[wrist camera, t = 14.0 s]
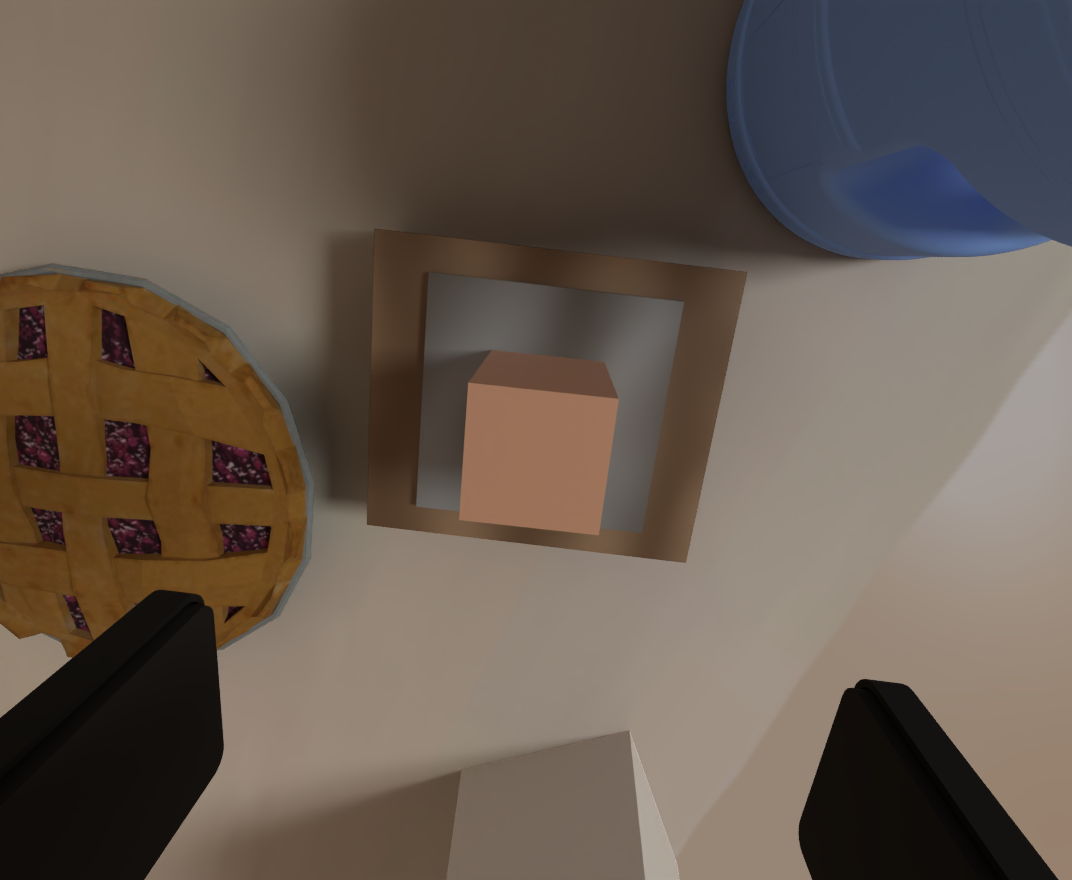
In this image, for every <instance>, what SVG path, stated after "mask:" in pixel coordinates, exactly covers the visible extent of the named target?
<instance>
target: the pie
mask: <svg viewBox="0 0 1072 880" xmlns="http://www.w3.org/2000/svg"><path fill="white" fill-rule="evenodd" d="M313 496H314V481H313V478H312V475H311V471H310V468H309V465H308V462H307V459H306V456H305V453H304V450H303V447H302V444H301V441H300V437H299V434H298V431H297V428H296V425H295V422H294V419H293V416H292V413H291V410H290V407H289V403H288V401H287V399H286V398H285V397H284V395H283V394H282V393H281V392H280V390H279V389H278V388H277V386H276V385H275V384H274V383H273V381H272V380H271V379H270V377H269V376H268V375H267V374H266V372H265V371H264V370H263V368H262V367H261V366H260V365H259V363H258V362H257V361H256V359H255V358H254V357H253V356H252V354H251V353H250V352H249V350H248V349H247V348H246V347H245V345H244V344H243V343H242V341H241V340H240V339H239V338H238V336H237V335H236V334H235V332H234V331H233V330H232V329H231V327H229V326H228V325H226V324H224V323H222V322H221V321H219V320H217V319H215V318H214V317H212V316H210V315H208V314H207V313H205V312H203V311H201V310H200V309H198V308H196V307H194V306H193V305H191V304H189V303H187V302H186V301H184V300H182V299H180V298H179V297H177V296H175V295H173V294H172V293H170V292H168V291H166V290H165V289H163V288H161V287H159V286H158V285H156V284H154V283H152V282H151V281H149V280H147V279H143V278H137V277H131V276H125V275H119V274H113V273H107V272H101V271H95V270H89V269H83V268H77V267H71V266H64V265H58V264H48V265H43V266H38V267H34V268H29V269H24V270H20V271H15V272H11V273H6V274H1V275H0V624H2V625H3V626H4V627H5V628H7V629H8V630H9V631H10V632H11V633H13V634H14V635H15V636H16V637H18V638H19V639H21V638H25V637H29V636H33V635H36V634H40V633H43V634H45V635H47V636H49V637H51V638H53V639H55V640H57V641H59V642H61V643H62V645H63V647H64V649H65V651H66V654H67V657H72V658H73V657H74V656H76V655H77V654H78V653H79V652H80V651H82V650H83V649H84V648H85V647H86V646H88V645H89V644H90V643H91V642H93V641H94V640H95V639H96V638H97V637H99V636H100V635H101V634H102V633H103V632H105V631H106V630H107V629H108V628H109V627H111V626H112V625H113V624H114V623H115V622H117V621H118V620H119V619H120V618H121V617H123V616H124V615H125V614H126V613H127V612H129V611H130V610H131V609H132V608H133V607H135V606H136V605H137V604H138V603H140V602H141V601H142V600H143V599H144V598H146V597H147V596H148V595H149V594H151V593H152V592H154V591H156V590H161V589H162V590H170V591H177V592H185V593H193V594H198V595H200V596H201V597H202V598H203V600H204V604H205V605H206V606H210V607H211V608H212V609H213V613H214V621H215V635H216V648H217V650H223V649H225V648H226V647H228V646H230V645H231V644H233V643H235V642H236V641H238V640H240V639H241V638H243V637H245V636H246V635H248V634H250V633H252V632H253V631H255V630H257V629H258V628H260V627H262V626H263V625H265V624H267V623H268V622H270V621H272V620H273V619H275V618H277V617H279V616H280V614H281V612H282V610H283V608H284V606H285V605H286V603H287V601H288V599H289V597H290V595H291V593H292V592H293V590H294V588H295V586H296V584H297V582H298V581H299V579H300V577H301V575H302V573H303V571H304V569H305V568H306V566H307V564H308V562H309V560H310V558H311V539H312V517H313Z"/></svg>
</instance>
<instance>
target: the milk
mask: <svg viewBox="0 0 1072 880" xmlns="http://www.w3.org/2000/svg"><path fill="white" fill-rule="evenodd" d="M446 880H680V879H679V872H678V865H677V862H676V859H675V856H674V854H673V851H672V848H671V845H670V842H669V840H668V837H667V834H666V831H665V828H664V826H663V823H662V820H661V817H660V814H659V812H658V809H657V806H656V803H655V800H654V798H653V795H652V792H651V789H650V786H649V784H648V781H647V778H646V775H645V772H644V770H643V767H642V764H641V761H640V758H639V756H638V753H637V750H636V747H635V744H634V742H633V739H632V736H631V733H630V730H629V731H625V732H621V733H617V734H612V735H608V736H604V737H600V738H595V739H591V740H587V741H582V742H578V743H574V744H570V745H565V746H561V747H557V748H553V749H548V750H544V751H540V752H536V753H531V754H527V755H523V756H519V757H514V758H510V759H506V760H502V761H497V762H493V763H489V764H485V765H480V766H476V767H472V768H467V769H463V770H461V776H460V783H459V791H458V798H457V805H456V812H455V819H454V826H453V833H452V841H451V848H450V855H449V862H448V869H447V876H446Z"/></svg>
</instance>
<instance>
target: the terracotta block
mask: <svg viewBox="0 0 1072 880" xmlns="http://www.w3.org/2000/svg"><path fill="white" fill-rule="evenodd" d="M618 402H619V398H618V395H617V393H616V390H615V388H614V385H613V383H612V380H611V378H610V375H609V372H608V370H607V367H606V365H605V362H600V361H591V360H582V359H572V358H563V357H554V356H544V355H535V354H526V353H517V352H507V351H498V350H492V351H491V352H490V353H489V355H488V356H487V358H486V359H485V360H484V362H483V363H482V364H481V366H480V367H479V369H478V370H477V371H476V373H475V374H474V375H473V377H472V378H471V379H470V381H469V382H468V393H467V408H466V423H465V438H464V453H463V468H462V483H461V498H460V513H459V520H464V521H473V522H482V523H491V524H500V525H509V526H518V527H527V528H536V529H545V530H555V531H564V532H573V533H582V534H591V535H599V531H600V524H601V517H602V510H603V504H604V497H605V490H606V483H607V477H608V470H609V463H610V456H611V449H612V443H613V436H614V429H615V422H616V415H617V409H618Z"/></svg>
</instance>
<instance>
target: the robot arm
mask: <svg viewBox="0 0 1072 880" xmlns="http://www.w3.org/2000/svg"><path fill="white" fill-rule="evenodd" d="M223 750H224V742H223V729H222V715H221V702H220V688H219V675H218V662H217V648H216V635H215V621H214V613H213V609H212V608H211V607H210V606H206V605H205V604H204V600H203V598H202V597H201V596H200V595H198V594H193V593H185V592H177V591H170V590H162V589H161V590H156V591H154V592H152V593H151V594H149V595H148V596H147V597H146V598H144V599H143V600H142V601H141V602H140V603H138V604H137V605H136V606H135V607H133V608H132V609H131V610H130V611H129V612H127V613H126V614H125V615H124V616H123V617H121V618H120V619H119V620H118V621H117V622H115V623H114V624H113V625H112V626H111V627H109V628H108V629H107V630H106V631H105V632H103V633H102V634H101V635H100V636H99V637H97V638H96V639H95V640H94V641H93V642H91V643H90V644H89V645H88V646H86V647H85V648H84V649H83V650H82V651H80V652H79V653H78V654H77V655H76V656H74V657H73V658H72V659H71V660H70V661H68V662H67V663H66V664H65V665H64V666H62V667H61V668H60V669H59V670H58V671H56V672H55V673H54V674H53V675H52V676H50V677H49V678H48V679H47V680H46V681H44V682H43V683H42V684H41V685H39V686H38V687H37V688H36V689H35V690H33V691H32V692H31V693H30V694H29V695H27V696H26V697H25V698H24V699H23V700H21V701H20V702H19V703H18V704H17V705H15V706H14V707H13V708H12V709H11V710H9V711H8V712H7V713H6V714H5V715H3V716H2V717H1V718H0V880H144V879H145V878H146V876H147V875H148V873H149V872H150V870H151V869H152V867H153V866H154V864H155V863H156V861H157V860H158V858H159V857H160V855H161V854H162V852H163V851H164V849H165V848H166V846H167V845H168V843H169V842H170V840H171V839H172V837H173V836H174V834H175V833H176V832H177V830H178V829H179V827H180V826H181V824H182V823H183V821H184V820H185V818H186V817H187V815H188V814H189V812H190V811H191V809H192V808H193V806H194V805H195V803H196V802H197V800H198V799H199V797H200V796H201V794H202V793H203V791H204V790H205V788H206V787H207V785H208V784H209V782H210V781H211V779H212V778H213V776H214V775H215V773H216V771H217V769H218V767H219V765H220V762H221V759H222V755H223ZM799 842H800V847H801V850H802V854H803V856H804V859H805V862H806V864H807V867H808V869H809V872H810V875H811V877H812V880H1058V878H1056V876H1055V875H1054V873H1053V872H1052V871H1051V870H1050V868H1049V867H1048V866H1047V864H1046V863H1045V862H1044V860H1043V859H1042V858H1041V856H1040V855H1039V854H1038V853H1037V851H1036V850H1035V849H1034V847H1033V846H1032V845H1031V843H1030V842H1029V841H1028V840H1027V838H1026V837H1025V836H1024V834H1023V833H1022V832H1021V831H1020V829H1019V828H1018V827H1017V825H1016V824H1015V823H1014V822H1013V820H1012V819H1011V818H1010V816H1009V815H1008V814H1007V812H1006V811H1005V810H1004V808H1003V807H1002V806H1001V805H1000V804H999V802H998V801H997V799H996V798H995V797H994V795H993V794H992V793H991V792H990V790H989V789H988V788H987V786H986V785H985V784H984V783H983V781H982V780H981V779H980V777H979V776H978V775H977V773H976V772H975V771H974V770H973V768H972V767H971V766H970V764H969V763H968V762H967V761H966V759H965V758H964V757H963V755H962V754H961V753H960V751H959V750H958V749H957V748H956V746H955V745H954V744H953V742H952V741H951V740H950V739H949V737H948V736H947V735H946V733H945V732H944V731H943V730H942V728H941V727H940V725H939V724H938V723H937V722H936V720H935V719H934V718H933V716H932V715H931V714H930V712H929V711H928V710H927V709H926V707H925V706H924V705H923V703H922V702H921V701H920V700H919V698H918V697H917V696H916V694H915V693H914V692H913V691H912V690H911V689H910V688H909V687H908V686H906V685H904V684H900V683H892V682H884V681H877V680H868V679H863V680H860V681H859V682H858V683H857V684H856V685H855V688H848V689H847V690H845V692H844V694H843V696H842V698H841V701H840V704H839V707H838V711H837V713H836V716H835V719H834V722H833V725H832V728H831V731H830V734H829V737H828V740H827V743H826V746H825V749H824V751H823V755H822V757H821V761H820V763H819V766H818V769H817V772H816V775H815V778H814V781H813V784H812V787H811V790H810V793H809V796H808V798H807V802H806V805H805V807H804V811H803V813H802V816H801V819H800V823H799Z"/></svg>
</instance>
